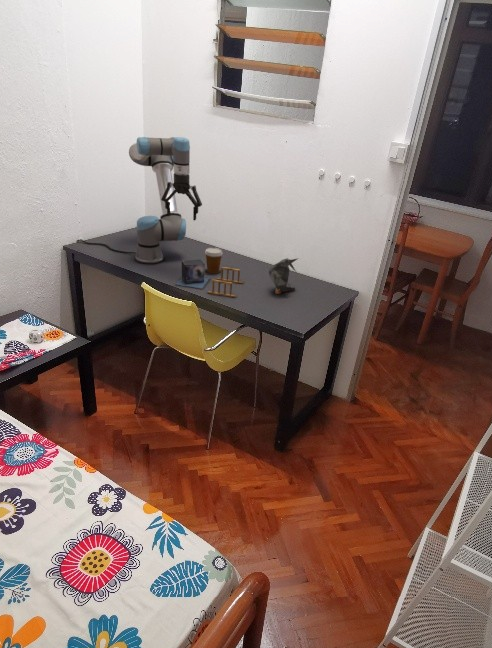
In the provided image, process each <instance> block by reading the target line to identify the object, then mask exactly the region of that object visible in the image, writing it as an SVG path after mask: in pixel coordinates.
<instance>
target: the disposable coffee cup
mask: <svg viewBox="0 0 492 648" xmlns="http://www.w3.org/2000/svg"><path fill="white" fill-rule="evenodd" d="M204 255H205V260H206V261H205V262H206V270H207V272H208V273H209V274H218V273H219V272H220V268H221V261H222V256H223V250H222V249H221V248H218V247H207V248H206V249H205V251H204Z"/></svg>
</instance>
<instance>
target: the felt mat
mask: <svg viewBox="0 0 492 648" xmlns="http://www.w3.org/2000/svg"><path fill="white" fill-rule="evenodd" d="M208 282H210V277H205V276H204V282H201V283H190V284H185V283H184V282H183V280H182V277H180V279H179V280H178V281H177V282H176V283H175V286H178V287H179V286H180V287H186V288H190V289H191V288H192V289H199V290H203V289H204V288H205V286H206V285H207V283H208Z"/></svg>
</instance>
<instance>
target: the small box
mask: <svg viewBox="0 0 492 648" xmlns="http://www.w3.org/2000/svg"><path fill="white" fill-rule="evenodd" d="M205 265H206V264H205V262H204V261H203V260H202V259H201V258H199V259H188V260H181V278H182V280H183V282H184V283H185V284H190V283H201V282H204V277H205Z"/></svg>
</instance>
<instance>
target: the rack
mask: <svg viewBox="0 0 492 648" xmlns="http://www.w3.org/2000/svg"><path fill="white" fill-rule="evenodd" d="M220 268H221V270H220V271H221V272H220V273H221V274H220V277H217V278H216V279H212V280H211V283H212V287H211V291H210V290H207V294H210V295H216V296H222V297H229V298H234V299H235V298H236V297H237V296H236V295H235V294H232V293H233V283H235V284H241V285H243V284H244V281H241V280H240V275H241V269H239V268H233V267H228V266H227V267H226V266H220ZM224 270H226V278H224ZM230 271H231V272H232V274H231V279H229V275H230V273H229V272H230ZM235 272H237V280H235ZM215 283H218V285H217V291H215ZM221 284H223V292H221ZM227 285H230V286H229V293H227Z"/></svg>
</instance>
